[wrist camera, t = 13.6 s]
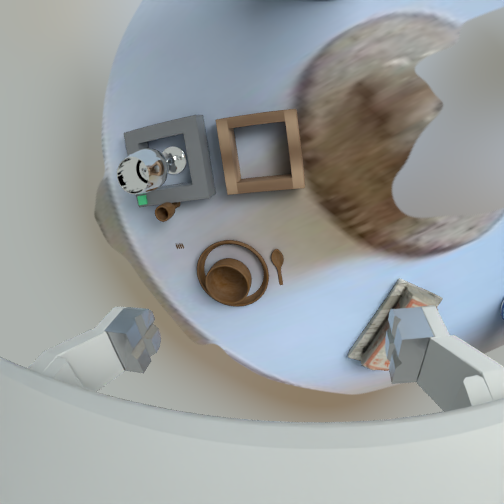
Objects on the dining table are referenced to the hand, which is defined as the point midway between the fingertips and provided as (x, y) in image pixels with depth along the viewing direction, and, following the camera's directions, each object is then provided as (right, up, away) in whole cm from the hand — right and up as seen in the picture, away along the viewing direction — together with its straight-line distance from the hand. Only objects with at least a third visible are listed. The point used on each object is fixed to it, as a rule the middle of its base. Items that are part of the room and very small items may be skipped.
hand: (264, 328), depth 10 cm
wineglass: (-12, +17, +35) cm, 41 cm away
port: (-12, +16, +35) cm, 41 cm away
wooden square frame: (+1, +17, +32) cm, 36 cm away
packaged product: (+25, -11, +40) cm, 49 cm away
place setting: (-4, +3, +40) cm, 41 cm away
